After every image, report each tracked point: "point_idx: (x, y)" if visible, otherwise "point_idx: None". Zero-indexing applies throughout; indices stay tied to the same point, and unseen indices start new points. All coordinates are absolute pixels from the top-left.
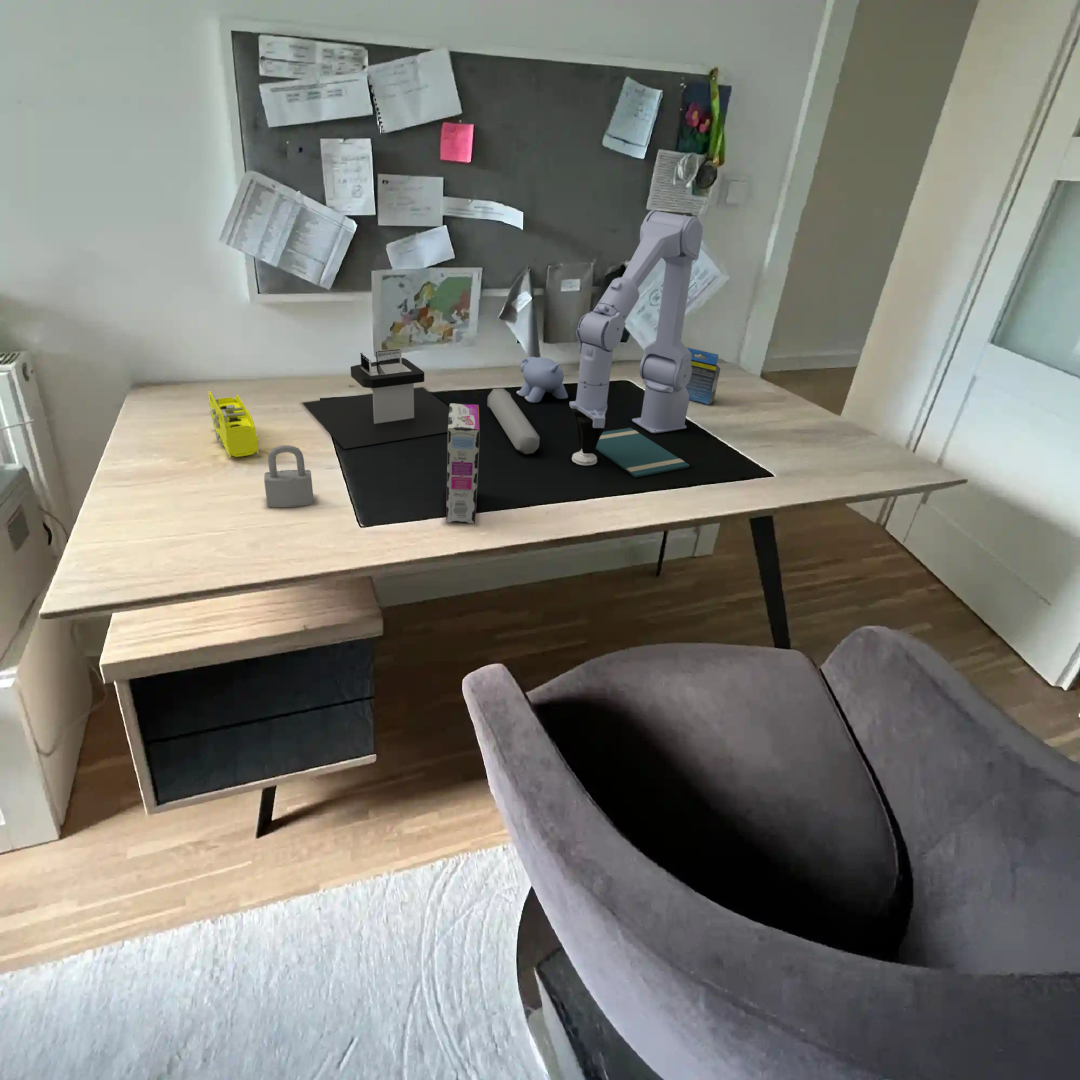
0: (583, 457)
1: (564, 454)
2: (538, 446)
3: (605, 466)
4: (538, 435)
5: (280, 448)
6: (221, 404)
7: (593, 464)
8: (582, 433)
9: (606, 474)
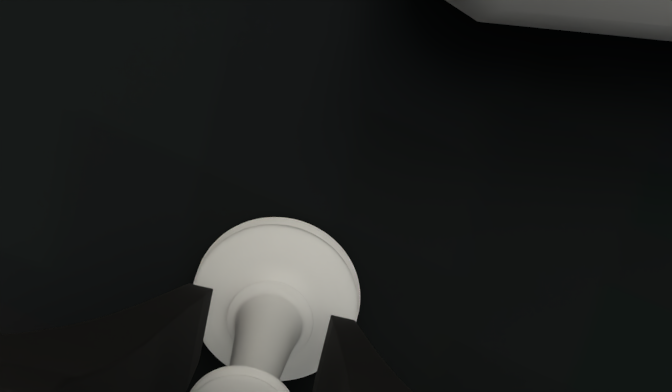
0: (232, 285)
1: (397, 209)
2: (454, 3)
3: None
4: (536, 8)
5: None
6: None
7: None
8: (42, 331)
9: None
